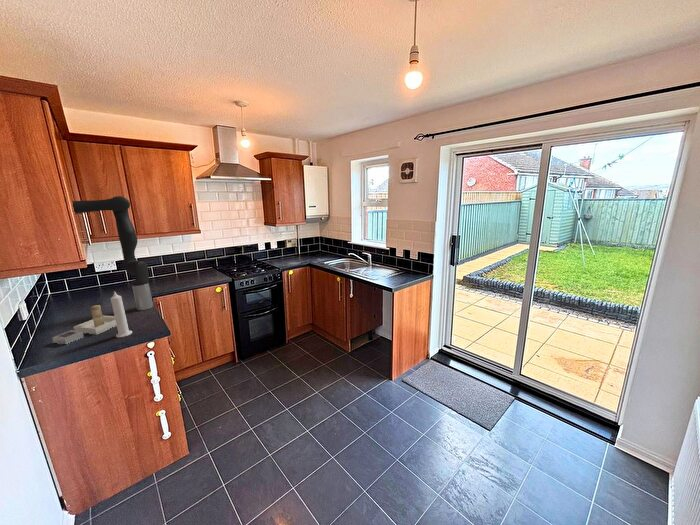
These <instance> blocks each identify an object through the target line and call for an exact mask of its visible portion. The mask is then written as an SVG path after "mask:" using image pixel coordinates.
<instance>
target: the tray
mask: <svg viewBox="0 0 700 525" xmlns="http://www.w3.org/2000/svg"><path fill="white" fill-rule="evenodd" d="M102 316H103V320H104V325H101V326H99V327H95V325H94V322H93V318H92V319H90V320H88V321H85V322H83V323H79V324H77V325H74V326H73V331H82V332H83V334H86V333H89V334H88V335H99V334H101V333H103V332H106V331H107V330H110V328H111V329H113V328H115V327H117V324H116V320H115V316H114V315H104V314H102ZM112 327H113V328H112Z"/></svg>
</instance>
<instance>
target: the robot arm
mask: <svg viewBox="0 0 700 525" xmlns="http://www.w3.org/2000/svg"><path fill="white" fill-rule="evenodd" d="M71 201H72V200H71ZM72 202H73V207H74V211H75V214H76V215H77V214H84V213H86V214H87V213H93V212H102V211H112V213H113V215H114V219H115V225H116V230H117V232H116V233H117V235H118V239H119V242H120V246H121V252H122V256H123V263H124V269H125V271H126V273H127V274H128V275H132V276H133V275H135V279H133V280H131V282H130V283H131V287H132V291H133V297H134V300H135V306H136V310H137V311H145V310H149V309H152V308H153V307H154V303H153V298H152V292H151V289H150V288H151V287H150V283H149V279H150V275H149V268H148V264H147V263H146V262H145V261H143V260H137V259H136V255H135V253H136V252H135V251H136V249H137V246H138V237H137V233H136V229H135V227H134V225H133V223H132V221H131V219H130V218H131V217H130V214H129V209H130V206H131V202H130V201H129V199H128V198H127V197H125V196H122V195H121V196H120V195H116V196H113V197H110V198H107V199H106V198H105V199H99V200H98V199H97V200H95V199H94V200H93V199H91V200H73V201H72ZM75 214H74V215H75Z"/></svg>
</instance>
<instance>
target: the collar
mask: <svg viewBox="0 0 700 525" xmlns="http://www.w3.org/2000/svg"><path fill="white" fill-rule="evenodd" d="M80 338H81V339H83V338H85V336H84V333H83V332H82V331H74V329H73V330H68V331H65V332H63V333H62V332H61V333H60V334H57V335H55V336H53V337H52V342H53V344H54V343H57V344H56V345H62V344H67V345H69V344H71V343H70V342H72V343H74V342H76V341H79V340H81V339H80ZM78 339H79V340H78ZM75 340H76V341H75ZM73 341H74V342H73ZM68 343H69V344H68Z"/></svg>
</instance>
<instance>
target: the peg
mask: <svg viewBox="0 0 700 525" xmlns="http://www.w3.org/2000/svg"><path fill="white" fill-rule="evenodd" d="M101 308H102V307H101V304H97V305H96V304H95V305H92V306H90V307H89V309H90V313H91V317H92V319H93V322H94V325H95V327H99V326H101V325H104V320H103V313H102V309H101Z"/></svg>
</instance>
